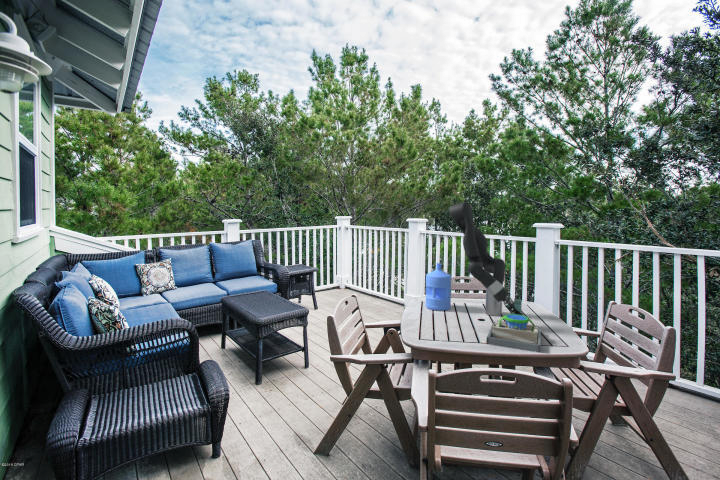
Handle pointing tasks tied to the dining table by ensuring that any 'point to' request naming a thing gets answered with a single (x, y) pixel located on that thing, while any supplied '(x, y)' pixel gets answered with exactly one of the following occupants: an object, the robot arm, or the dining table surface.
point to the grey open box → (513, 333)
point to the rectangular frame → (513, 342)
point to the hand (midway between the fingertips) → (521, 316)
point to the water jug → (438, 290)
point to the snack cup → (516, 322)
